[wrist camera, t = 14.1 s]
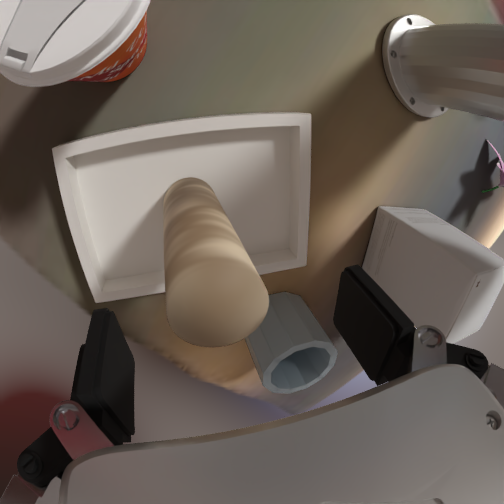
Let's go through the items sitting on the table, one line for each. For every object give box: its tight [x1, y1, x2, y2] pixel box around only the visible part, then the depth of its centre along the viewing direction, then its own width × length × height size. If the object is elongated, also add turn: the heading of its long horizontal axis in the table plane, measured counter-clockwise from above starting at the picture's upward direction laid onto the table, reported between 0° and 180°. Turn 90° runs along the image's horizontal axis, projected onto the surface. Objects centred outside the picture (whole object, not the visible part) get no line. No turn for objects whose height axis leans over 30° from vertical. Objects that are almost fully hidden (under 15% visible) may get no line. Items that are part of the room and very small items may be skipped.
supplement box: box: [362, 206, 504, 344], centre depth 28 cm, size 9×9×15 cm
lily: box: [482, 139, 504, 193], centre depth 31 cm, size 12×12×10 cm
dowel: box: [163, 177, 269, 347], centre depth 18 cm, size 4×4×14 cm
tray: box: [52, 112, 311, 303], centre depth 24 cm, size 20×14×3 cm
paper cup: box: [0, 0, 150, 87], centre depth 11 cm, size 8×8×14 cm
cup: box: [245, 292, 338, 394], centre depth 31 cm, size 8×8×8 cm
